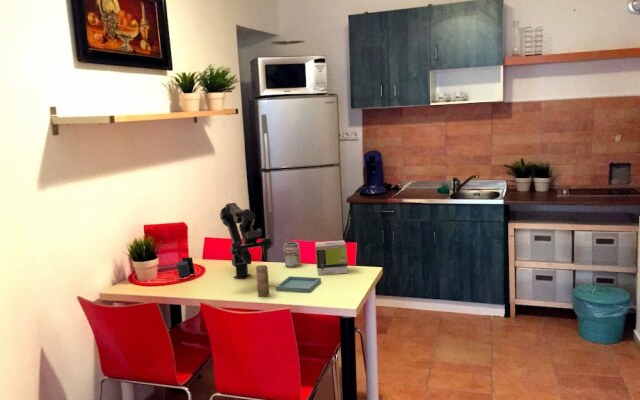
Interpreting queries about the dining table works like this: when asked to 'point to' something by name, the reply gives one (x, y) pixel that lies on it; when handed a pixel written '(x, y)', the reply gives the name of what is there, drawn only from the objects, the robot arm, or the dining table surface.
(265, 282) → the pepper mill
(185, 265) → the speaker
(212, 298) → the dining table surface
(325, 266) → the tea box
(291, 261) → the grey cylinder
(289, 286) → the tray
